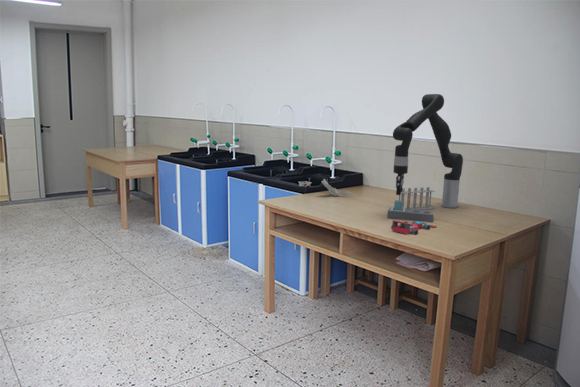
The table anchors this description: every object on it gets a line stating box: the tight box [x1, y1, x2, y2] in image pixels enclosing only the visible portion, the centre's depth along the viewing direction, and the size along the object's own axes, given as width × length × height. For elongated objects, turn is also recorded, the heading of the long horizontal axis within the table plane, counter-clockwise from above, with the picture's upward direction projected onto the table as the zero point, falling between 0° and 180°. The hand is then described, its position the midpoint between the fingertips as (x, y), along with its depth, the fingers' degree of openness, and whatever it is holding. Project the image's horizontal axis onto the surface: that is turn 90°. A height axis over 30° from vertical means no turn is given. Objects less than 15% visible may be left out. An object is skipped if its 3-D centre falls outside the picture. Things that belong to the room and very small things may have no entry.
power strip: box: [386, 206, 435, 223], centre depth 266 cm, size 10×24×4 cm, turn 71°
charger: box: [393, 199, 403, 211], centre depth 268 cm, size 4×4×8 cm
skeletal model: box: [321, 178, 357, 197], centre depth 325 cm, size 16×9×25 cm
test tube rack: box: [398, 186, 436, 210], centre depth 288 cm, size 25×4×13 cm, turn 112°
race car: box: [390, 219, 437, 236], centre depth 243 cm, size 14×6×25 cm
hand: (399, 193), depth 266 cm, fingers open, 8 cm apart
